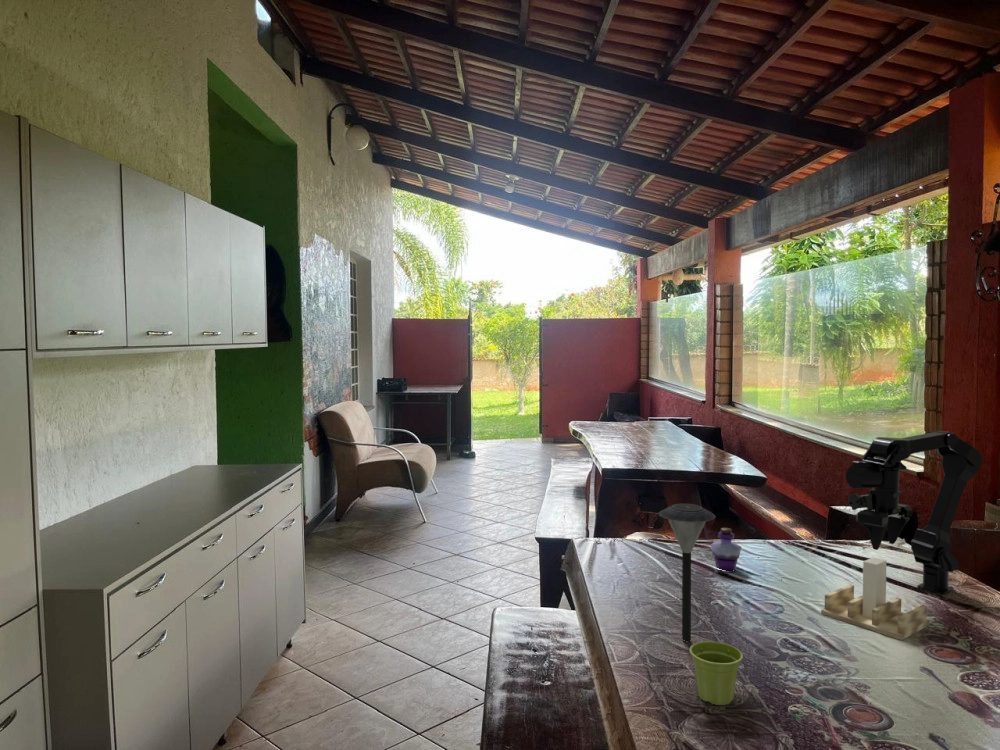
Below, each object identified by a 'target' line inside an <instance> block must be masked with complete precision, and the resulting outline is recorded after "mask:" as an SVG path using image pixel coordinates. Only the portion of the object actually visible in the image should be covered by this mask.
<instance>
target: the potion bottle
mask: <svg viewBox="0 0 1000 750" xmlns="http://www.w3.org/2000/svg"><path fill="white" fill-rule="evenodd" d="M732 531H733V529H732V528H729V527H721V528H720V531H719V532H718V533H717V537H718V538H719V539H720V541H714V542H713V543H711V544H710V548H711V554H712V555H713V559H714V563H715V568H716V567H717V568H719V569H722V570H726V571H733V570H735V571H736V568H737V564H738V560H739V558H740V555H741V552H742V551H741V550H742V546H741V545H739V544H737V543H736V542H732V540H733V539H734V538H735V533H733V532H732Z"/></svg>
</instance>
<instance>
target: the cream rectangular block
mask: <svg viewBox="0 0 1000 750" xmlns="http://www.w3.org/2000/svg"><path fill="white" fill-rule="evenodd" d="M862 566H863V567H862V595H863V616H866V617H870V618H872V609H874V608H876V607H878V606H880V605H883V604H885V603H887V599H886V598H887V560H886V559H881V558H877V557H871V558H868V559H866V560H863V563H862Z"/></svg>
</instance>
